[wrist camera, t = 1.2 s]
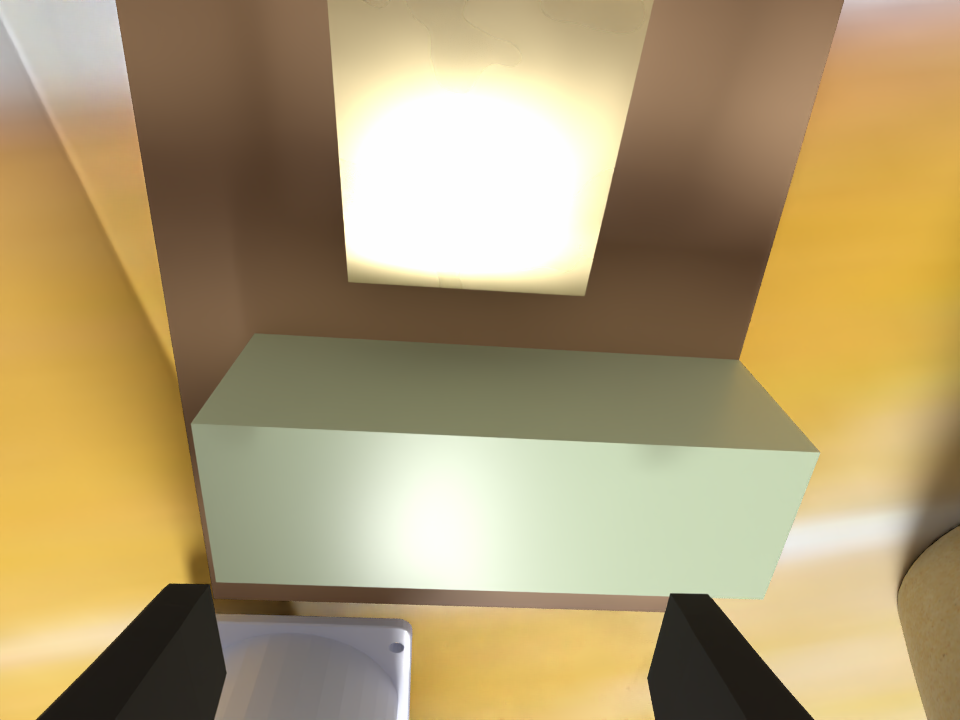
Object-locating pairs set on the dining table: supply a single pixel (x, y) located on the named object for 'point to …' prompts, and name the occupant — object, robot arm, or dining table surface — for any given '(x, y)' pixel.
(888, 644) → the dining table surface
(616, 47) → the tan flat block
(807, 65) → the panel
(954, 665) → the plant pot
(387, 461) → the light green rectangular bar
